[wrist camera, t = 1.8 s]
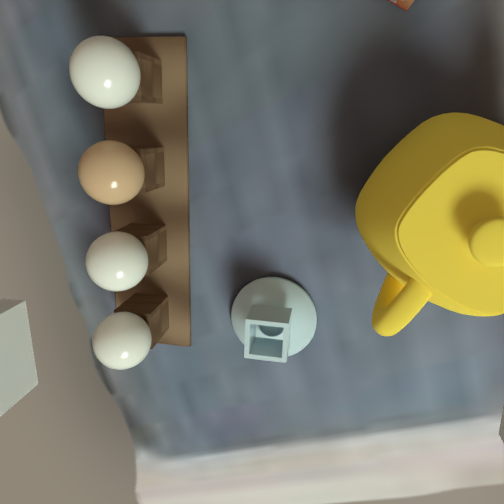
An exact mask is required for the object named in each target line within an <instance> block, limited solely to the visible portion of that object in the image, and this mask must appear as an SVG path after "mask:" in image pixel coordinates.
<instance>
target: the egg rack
mask: <svg viewBox="0 0 504 504" xmlns="http://www.w3.org/2000/svg"><path fill="white" fill-rule="evenodd" d="M112 38H115V39H117V40H119V41H121V42H122V43H124V44H125V45H126V46H127V47H128V48H129V49H130V50H131V51H132V52H133V54H134V56H135V57H136V59H137V61H138V64H139V67H140V73H141V80H140V86H139V89H138V91H137V93H136V95H135V96H134V98H133V99H132V100H131V101H130V102H128V103H127V104H125V105H124V106H121V107H119V108H114V109H105V108H103V111H104V126H105V140H114V141H119V142H122V143H124V144H126V145H128V146H130V147H131V148H132V149H133V150H134V151H135V152H136V153H137V154H138V155H139V157H140V158H141V160H142V163H143V165H144V170H145V178H144V183H143V186H142V188H141V190H140V191H139V193H138V194H137V195H136V196H135V197H134V198H133V199H131V200H130V201H128V202H126V203H123V204H118V205H110V218H111V232H114V231H120V232H126V233H129V234H131V235H133V236H135V237H136V238H137V239H139V240H140V241H141V242H142V244H143V245H144V247H145V249H146V251H147V254H148V268H147V272H146V274H145V276H144V277H143V279H142V280H141V281H140V282H139V283H138V284H137V285H136V286H134V287H132V288H130V289H128V290H124V291H115V294H116V309H115V310H114V313H117V312H131V313H134V314H136V315H138V316H140V317H141V318H142V319H143V320H144V321H145V322H146V323H147V324H148V326H149V328H150V331H151V336H152V342H151V347H150V349H152V348H153V347H154V346H155V345H156V343H162V344H170V345H179V346H187V347H190V346H191V302H190V229H189V156H188V83H187V37H112Z"/></svg>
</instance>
